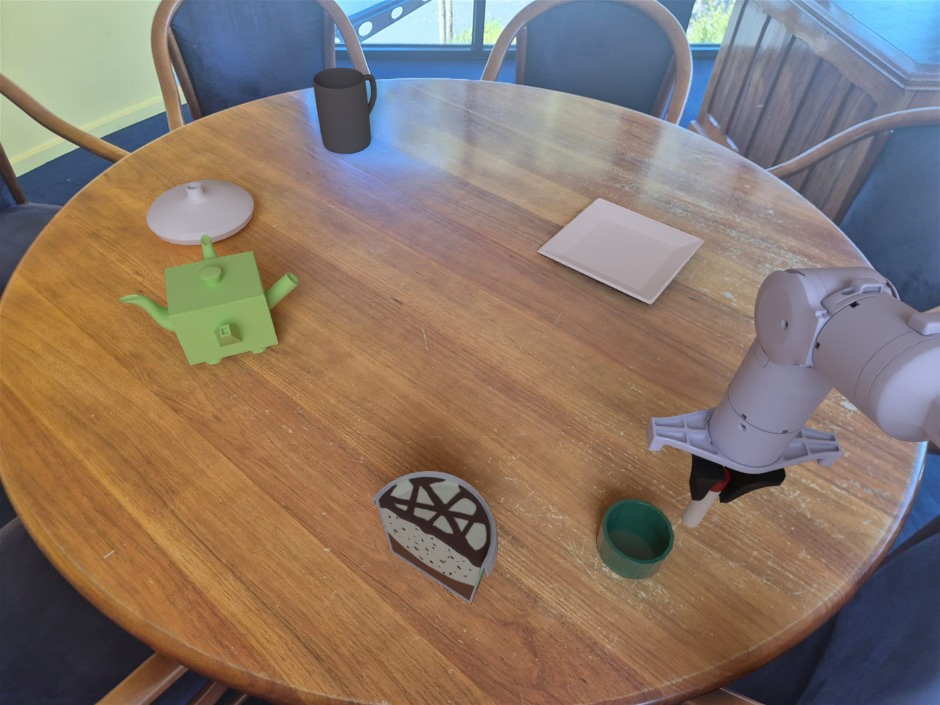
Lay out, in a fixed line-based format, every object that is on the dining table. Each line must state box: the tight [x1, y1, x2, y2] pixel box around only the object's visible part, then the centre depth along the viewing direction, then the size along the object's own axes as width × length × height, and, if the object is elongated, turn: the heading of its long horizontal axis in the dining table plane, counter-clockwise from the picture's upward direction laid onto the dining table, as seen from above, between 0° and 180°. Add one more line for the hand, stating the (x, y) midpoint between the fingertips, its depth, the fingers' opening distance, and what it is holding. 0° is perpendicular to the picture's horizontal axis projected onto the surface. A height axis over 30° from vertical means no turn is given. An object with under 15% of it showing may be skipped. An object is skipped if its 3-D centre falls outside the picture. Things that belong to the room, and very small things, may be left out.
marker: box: [680, 468, 730, 528], centre depth 56 cm, size 2×2×8 cm
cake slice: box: [371, 470, 499, 605], centre depth 58 cm, size 12×6×10 cm, turn 58°
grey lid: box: [145, 179, 255, 246], centre depth 95 cm, size 16×16×7 cm
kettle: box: [118, 235, 300, 366], centre depth 77 cm, size 15×14×11 cm
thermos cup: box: [596, 498, 676, 580], centre depth 61 cm, size 7×7×4 cm
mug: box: [312, 67, 378, 155], centre depth 113 cm, size 14×9×12 cm
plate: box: [537, 197, 705, 306], centre depth 94 cm, size 19×19×2 cm
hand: (708, 491), depth 55 cm, fingers closed on marker, 2 cm apart
